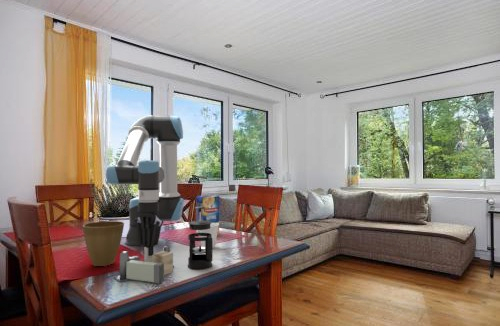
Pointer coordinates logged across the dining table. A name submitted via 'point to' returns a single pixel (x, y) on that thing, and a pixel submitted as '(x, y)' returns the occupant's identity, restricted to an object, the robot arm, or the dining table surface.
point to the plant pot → (103, 241)
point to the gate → (145, 271)
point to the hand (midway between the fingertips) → (148, 263)
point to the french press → (200, 259)
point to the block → (164, 260)
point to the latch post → (167, 249)
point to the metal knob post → (124, 265)
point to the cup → (213, 231)
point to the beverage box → (208, 209)
